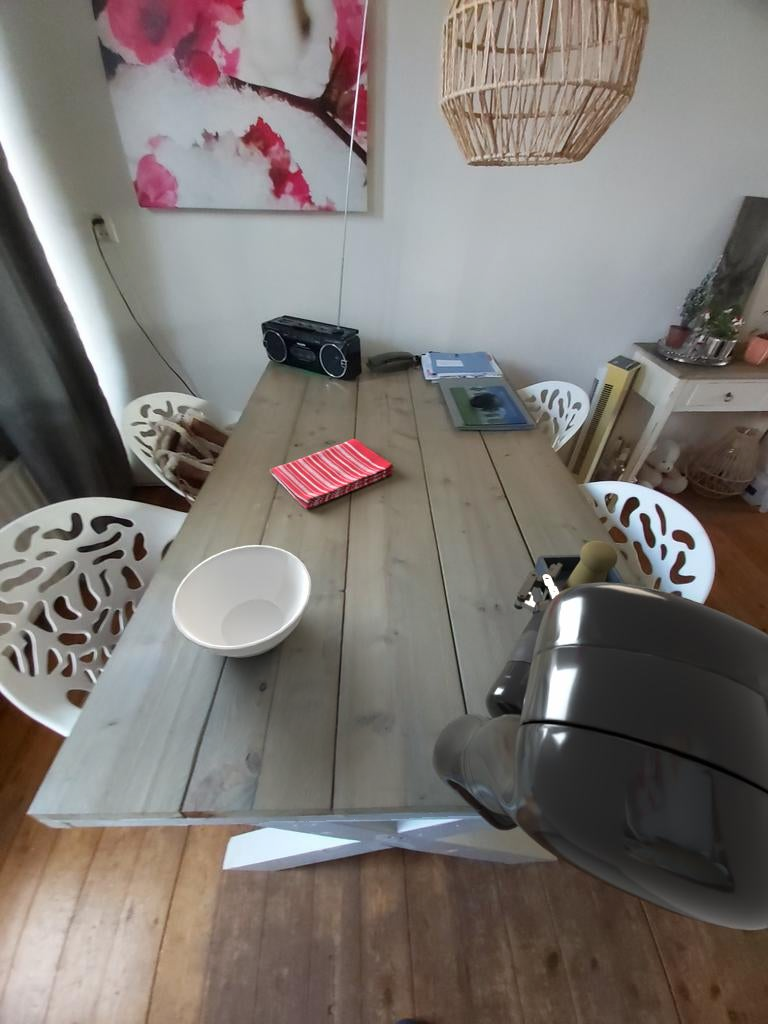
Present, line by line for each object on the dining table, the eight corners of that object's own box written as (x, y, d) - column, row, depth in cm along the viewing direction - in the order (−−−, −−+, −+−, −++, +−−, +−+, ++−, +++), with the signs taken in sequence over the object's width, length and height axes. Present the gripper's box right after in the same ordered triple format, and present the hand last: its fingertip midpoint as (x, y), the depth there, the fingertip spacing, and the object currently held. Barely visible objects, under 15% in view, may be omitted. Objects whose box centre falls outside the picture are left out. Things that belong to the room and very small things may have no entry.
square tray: (632, 626, 70) (642, 609, 67) (557, 629, 70) (565, 612, 67) (598, 570, 80) (607, 553, 77) (533, 572, 79) (538, 555, 76)
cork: (605, 610, 72) (630, 562, 65) (568, 609, 72) (589, 562, 65) (592, 582, 76) (614, 535, 69) (557, 581, 76) (576, 534, 69)
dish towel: (396, 474, 102) (396, 464, 100) (307, 512, 91) (306, 502, 89) (354, 443, 112) (354, 434, 111) (269, 474, 101) (268, 464, 99)
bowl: (160, 638, 67) (142, 603, 62) (256, 563, 79) (248, 529, 74) (249, 710, 58) (237, 677, 53) (340, 613, 71) (338, 578, 66)
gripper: (615, 672, 49) (649, 586, 59) (498, 609, 56) (547, 541, 66) (593, 706, 54) (628, 620, 64) (488, 643, 61) (535, 575, 71)
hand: (587, 580), depth 65 cm, fingers open, 8 cm apart
